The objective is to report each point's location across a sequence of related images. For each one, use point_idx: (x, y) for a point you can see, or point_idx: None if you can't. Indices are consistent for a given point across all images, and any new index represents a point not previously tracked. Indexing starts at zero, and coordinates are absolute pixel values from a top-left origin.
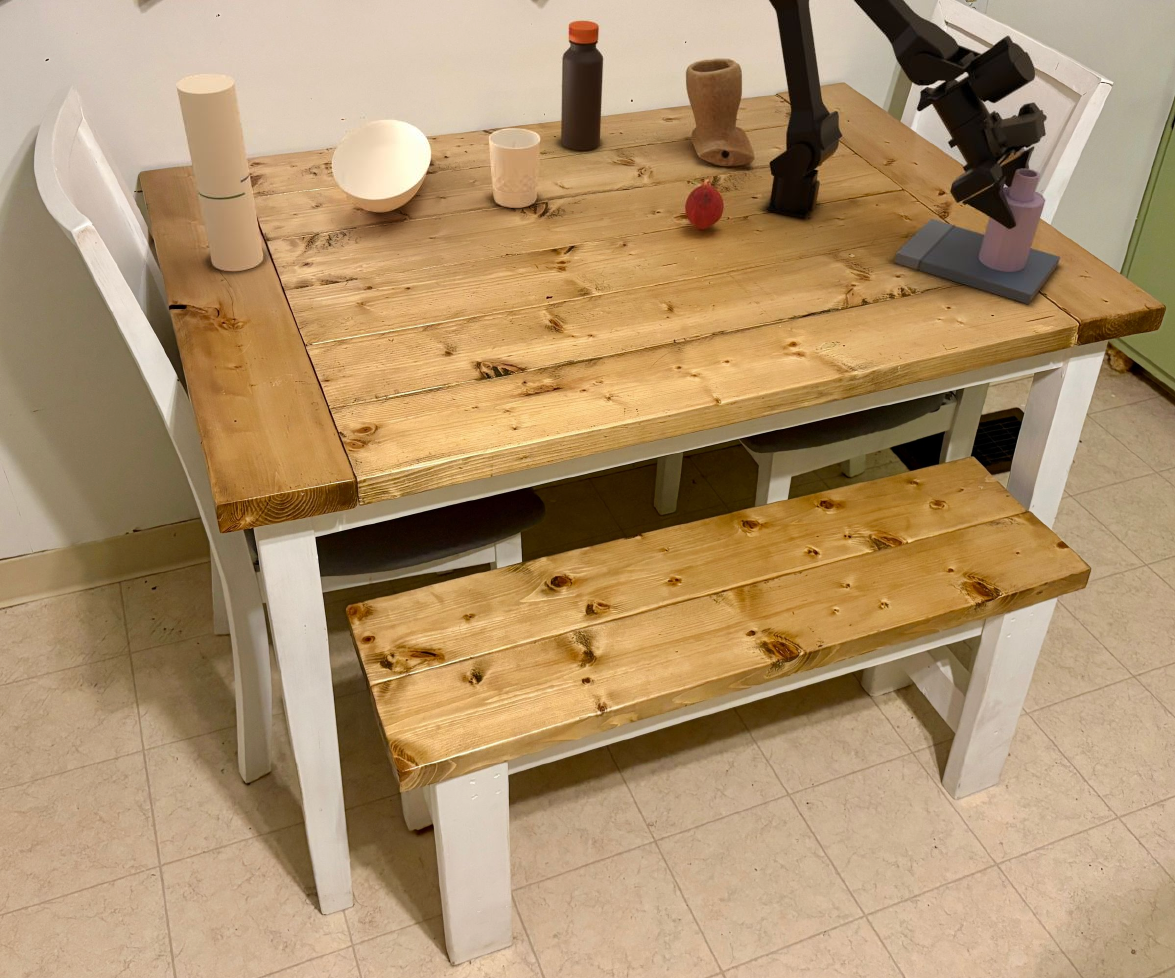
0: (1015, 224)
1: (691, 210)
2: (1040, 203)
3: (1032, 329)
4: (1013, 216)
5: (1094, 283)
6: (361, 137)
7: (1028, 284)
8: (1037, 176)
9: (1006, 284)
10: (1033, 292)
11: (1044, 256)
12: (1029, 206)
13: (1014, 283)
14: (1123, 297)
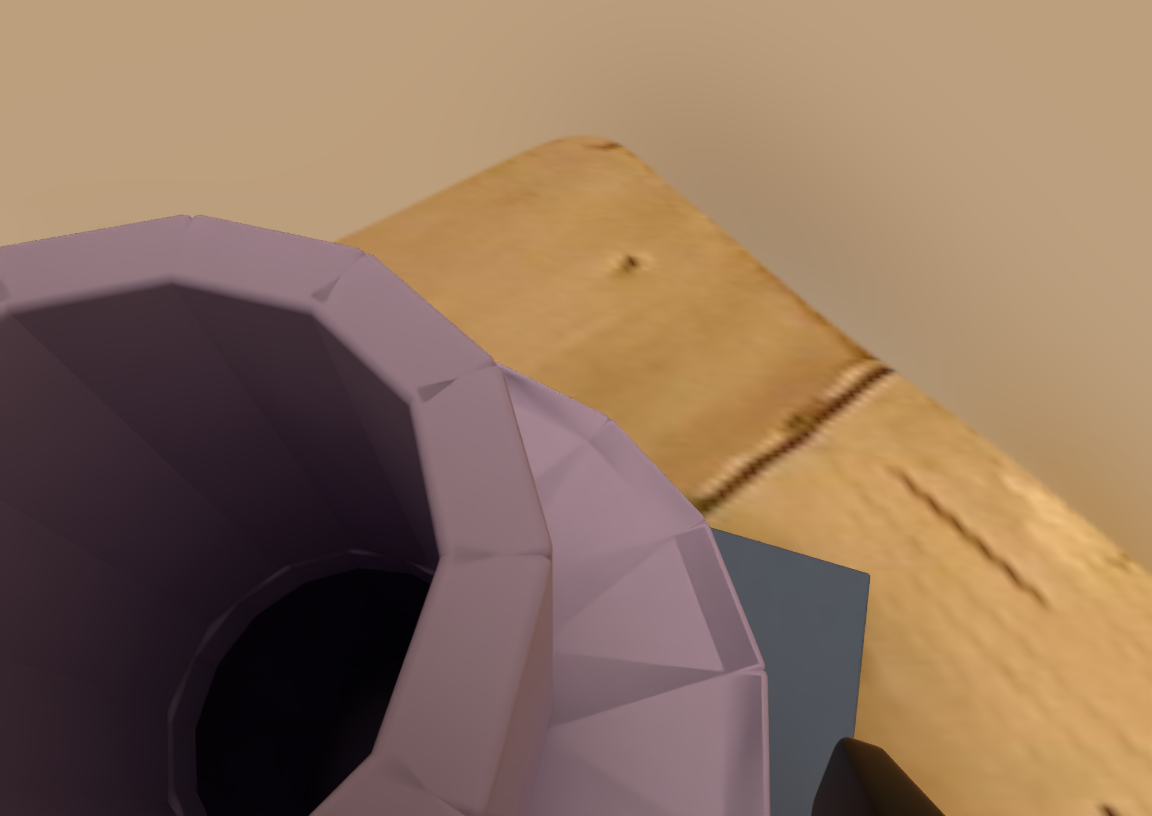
0: (883, 752)
1: None
2: (518, 406)
3: (1105, 572)
4: (894, 809)
5: (470, 292)
6: None
7: (746, 590)
8: (337, 274)
9: (818, 737)
10: (829, 562)
11: None
12: (688, 559)
13: (776, 680)
14: (564, 203)
